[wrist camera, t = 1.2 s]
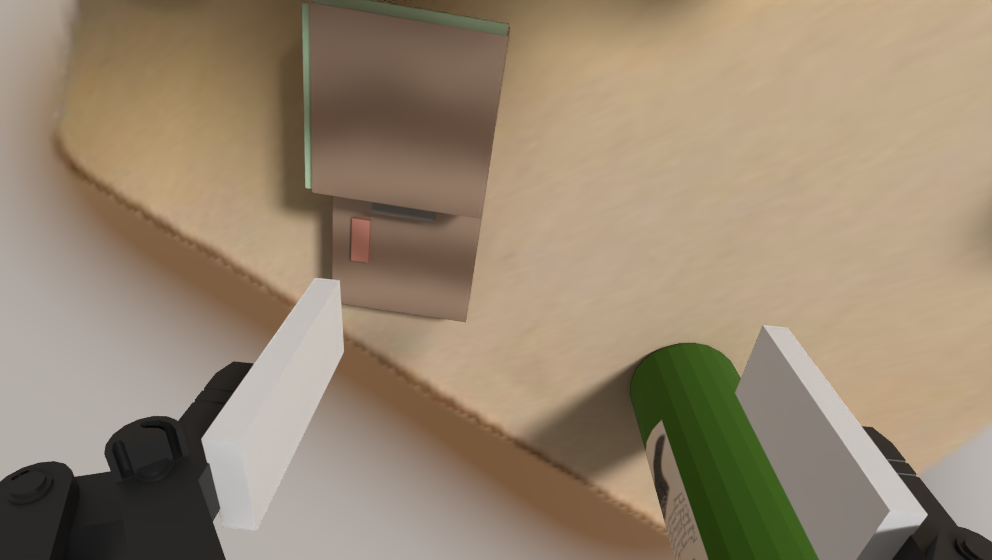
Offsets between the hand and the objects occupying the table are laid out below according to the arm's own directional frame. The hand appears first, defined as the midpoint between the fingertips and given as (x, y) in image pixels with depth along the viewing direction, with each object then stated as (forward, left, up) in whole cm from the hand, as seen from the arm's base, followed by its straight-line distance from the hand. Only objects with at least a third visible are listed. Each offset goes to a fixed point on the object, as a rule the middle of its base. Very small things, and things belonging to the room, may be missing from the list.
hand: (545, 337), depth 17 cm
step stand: (+3, -8, -23) cm, 24 cm away
